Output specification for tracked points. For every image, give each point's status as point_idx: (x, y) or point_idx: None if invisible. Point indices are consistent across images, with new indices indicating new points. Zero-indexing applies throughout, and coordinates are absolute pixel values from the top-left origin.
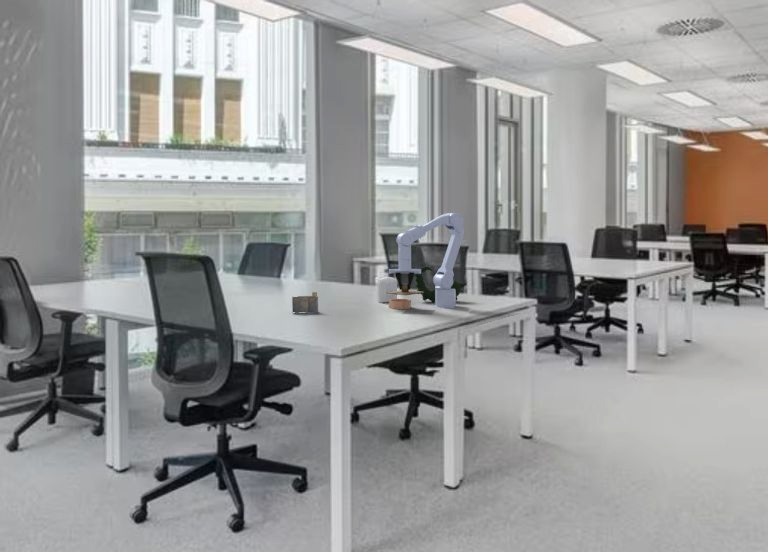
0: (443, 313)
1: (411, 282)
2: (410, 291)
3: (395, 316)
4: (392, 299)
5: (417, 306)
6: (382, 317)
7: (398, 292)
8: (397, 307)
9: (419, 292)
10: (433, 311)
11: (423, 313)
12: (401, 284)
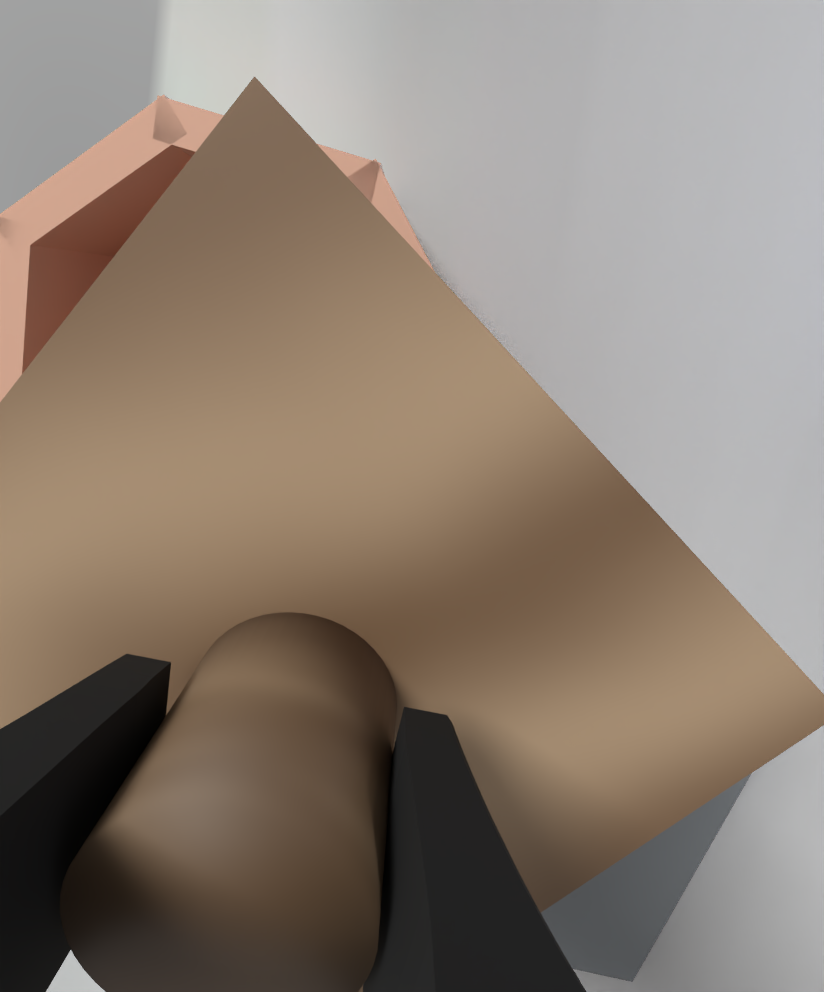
0: (818, 844)
1: (540, 932)
2: (462, 618)
3: None
4: (39, 231)
5: (628, 59)
6: (92, 986)
7: None
8: None
9: (679, 811)
10: (717, 810)
11: (554, 924)
12: (73, 918)
